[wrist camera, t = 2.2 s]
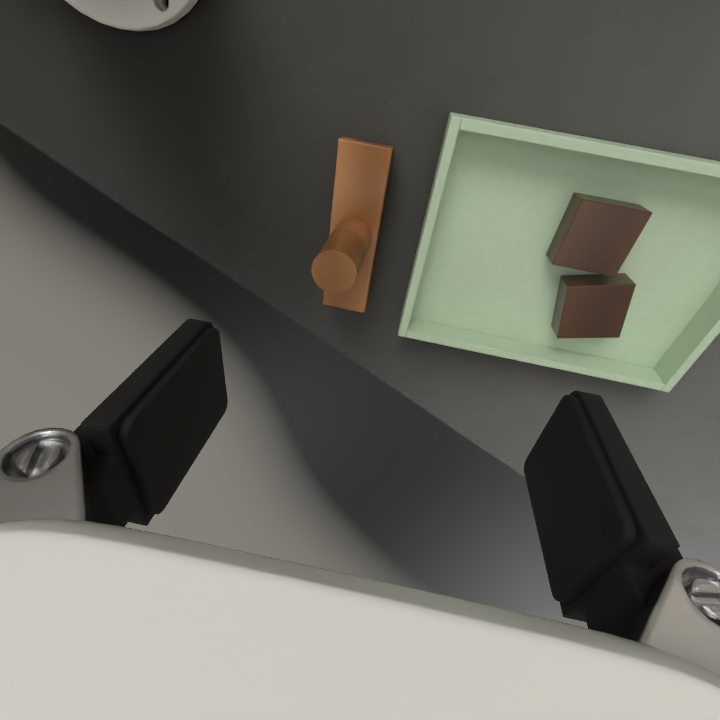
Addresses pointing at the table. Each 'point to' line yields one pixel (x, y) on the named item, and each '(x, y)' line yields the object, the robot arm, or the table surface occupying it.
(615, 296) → the chip
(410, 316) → the tray
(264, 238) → the table surface
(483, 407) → the table surface
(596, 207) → the dark brown square block
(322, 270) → the brush
